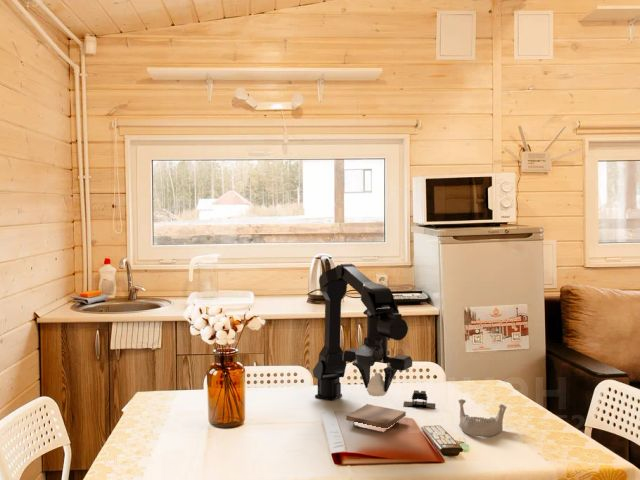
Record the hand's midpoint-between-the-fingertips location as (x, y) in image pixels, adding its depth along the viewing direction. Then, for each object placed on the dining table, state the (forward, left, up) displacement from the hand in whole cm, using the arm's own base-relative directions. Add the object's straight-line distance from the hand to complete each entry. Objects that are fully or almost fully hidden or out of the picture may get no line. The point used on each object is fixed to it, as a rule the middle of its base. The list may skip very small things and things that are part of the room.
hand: (376, 389), depth 168 cm
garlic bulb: (0, 0, -1) cm, 1 cm away
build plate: (+3, +22, -10) cm, 25 cm away
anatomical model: (+25, +11, -10) cm, 29 cm away
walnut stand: (0, 0, -10) cm, 10 cm away
